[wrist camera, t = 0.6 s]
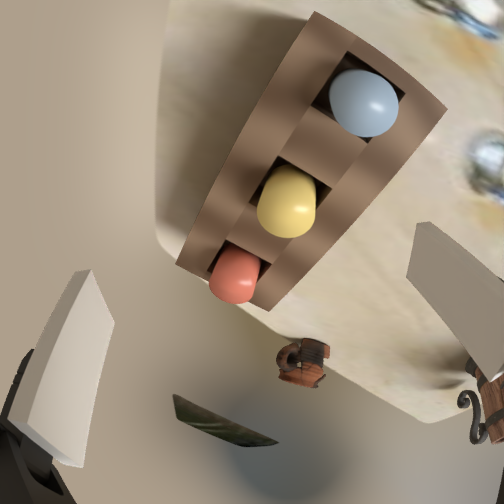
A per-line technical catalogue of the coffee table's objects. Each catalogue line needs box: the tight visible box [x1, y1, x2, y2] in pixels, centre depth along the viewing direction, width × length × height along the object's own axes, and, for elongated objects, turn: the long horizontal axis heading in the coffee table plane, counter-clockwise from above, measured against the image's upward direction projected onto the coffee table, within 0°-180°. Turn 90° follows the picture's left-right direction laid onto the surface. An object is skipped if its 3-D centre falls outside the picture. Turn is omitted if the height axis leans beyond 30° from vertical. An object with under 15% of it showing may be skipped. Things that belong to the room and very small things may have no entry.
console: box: [175, 11, 448, 312], centre depth 27 cm, size 28×12×8 cm, turn 152°
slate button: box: [328, 68, 399, 137], centre depth 18 cm, size 4×4×4 cm
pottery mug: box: [276, 338, 330, 388], centre depth 50 cm, size 12×10×8 cm
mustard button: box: [257, 165, 316, 238], centre depth 24 cm, size 4×4×4 cm
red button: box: [209, 243, 262, 304], centre depth 30 cm, size 4×4×4 cm
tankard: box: [457, 357, 504, 445], centre depth 39 cm, size 24×17×20 cm
